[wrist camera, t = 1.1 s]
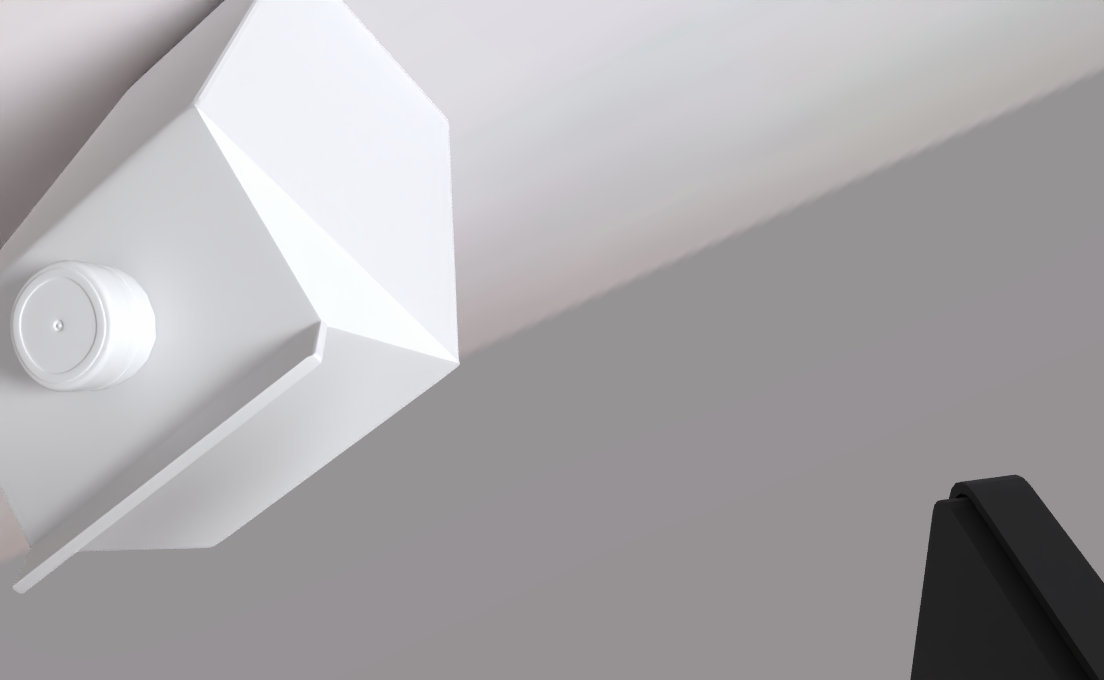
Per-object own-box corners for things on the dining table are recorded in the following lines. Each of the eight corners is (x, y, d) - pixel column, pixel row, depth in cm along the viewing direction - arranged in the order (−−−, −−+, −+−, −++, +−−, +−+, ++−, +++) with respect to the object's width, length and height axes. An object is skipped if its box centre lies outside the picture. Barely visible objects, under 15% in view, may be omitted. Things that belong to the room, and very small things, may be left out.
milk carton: (450, 119, 34) (468, 491, 18) (291, 249, 36) (175, 695, 20) (290, -62, 31) (134, 192, 15) (124, 91, 33) (-180, 469, 16)
